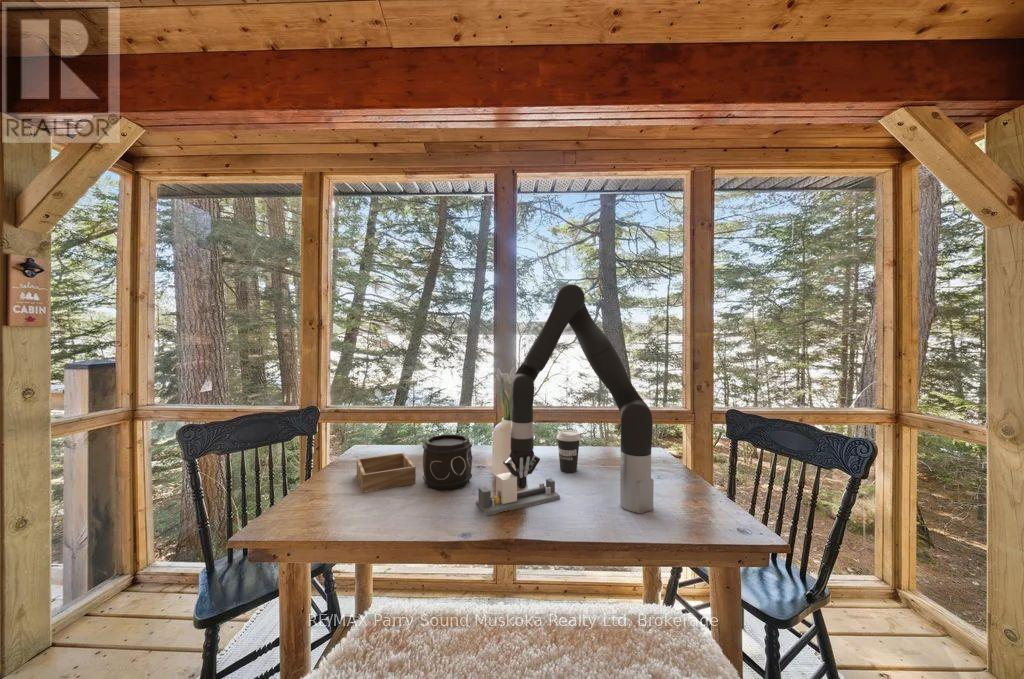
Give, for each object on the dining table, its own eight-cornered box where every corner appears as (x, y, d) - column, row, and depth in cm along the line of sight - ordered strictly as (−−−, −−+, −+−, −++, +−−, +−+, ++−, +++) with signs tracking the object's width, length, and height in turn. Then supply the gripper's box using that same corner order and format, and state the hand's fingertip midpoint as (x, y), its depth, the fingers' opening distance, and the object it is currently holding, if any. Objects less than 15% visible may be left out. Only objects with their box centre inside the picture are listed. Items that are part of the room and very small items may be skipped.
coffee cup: (551, 468, 159) (551, 431, 159) (571, 465, 163) (572, 428, 163) (564, 476, 150) (564, 437, 150) (585, 472, 154) (585, 434, 154)
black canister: (479, 487, 139) (479, 443, 139) (428, 495, 133) (427, 449, 132) (466, 471, 156) (466, 431, 156) (420, 477, 149) (419, 435, 149)
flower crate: (415, 483, 143) (415, 466, 143) (362, 492, 135) (362, 475, 135) (404, 467, 160) (404, 452, 160) (356, 474, 152) (356, 459, 152)
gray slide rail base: (545, 489, 138) (545, 471, 138) (559, 498, 130) (559, 480, 130) (475, 504, 126) (475, 484, 126) (486, 515, 118) (486, 495, 118)
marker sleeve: (509, 495, 129) (509, 472, 129) (516, 500, 125) (517, 477, 125) (495, 498, 127) (495, 474, 127) (502, 504, 123) (502, 480, 123)
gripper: (509, 440, 122) (508, 495, 122) (545, 435, 128) (545, 488, 129) (498, 434, 129) (498, 487, 129) (533, 430, 135) (533, 480, 135)
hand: (521, 487), depth 129 cm, fingers closed
